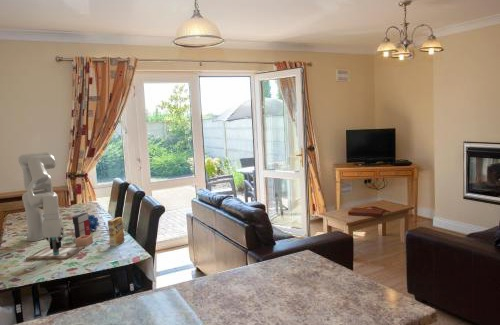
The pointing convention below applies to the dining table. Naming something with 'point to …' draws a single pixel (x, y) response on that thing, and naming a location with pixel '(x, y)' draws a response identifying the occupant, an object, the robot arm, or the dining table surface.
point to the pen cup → (84, 240)
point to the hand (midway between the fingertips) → (55, 248)
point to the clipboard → (48, 255)
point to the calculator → (81, 225)
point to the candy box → (116, 231)
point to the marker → (54, 246)
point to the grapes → (92, 222)
